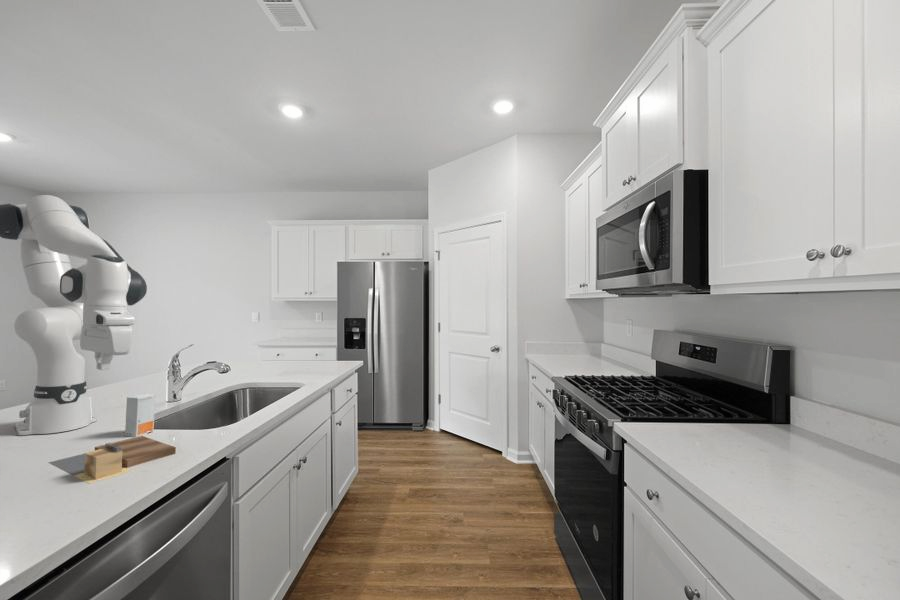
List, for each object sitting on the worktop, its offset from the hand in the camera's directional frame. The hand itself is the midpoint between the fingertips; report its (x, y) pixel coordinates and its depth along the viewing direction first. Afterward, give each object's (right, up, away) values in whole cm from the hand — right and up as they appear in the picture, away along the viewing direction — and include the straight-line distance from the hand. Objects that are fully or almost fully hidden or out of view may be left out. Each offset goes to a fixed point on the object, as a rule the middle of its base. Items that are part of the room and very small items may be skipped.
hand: (103, 369), depth 104 cm
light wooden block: (+8, -23, -9) cm, 26 cm away
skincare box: (-6, -24, +20) cm, 32 cm away
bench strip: (+1, -23, -6) cm, 24 cm away
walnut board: (+6, -24, +4) cm, 24 cm away
